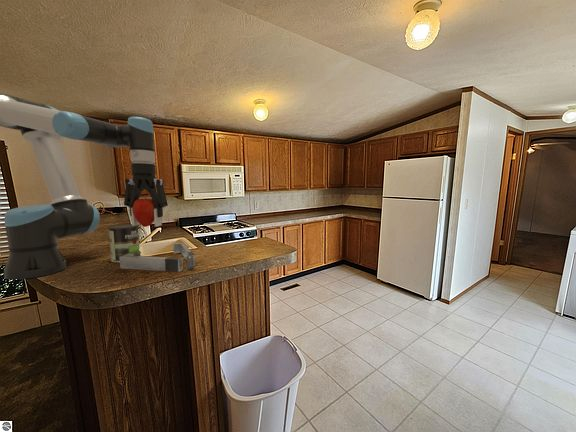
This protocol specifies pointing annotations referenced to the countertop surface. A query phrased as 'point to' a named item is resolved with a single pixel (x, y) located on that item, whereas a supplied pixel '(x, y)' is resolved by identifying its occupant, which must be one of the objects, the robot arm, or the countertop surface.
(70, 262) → the countertop surface
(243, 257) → the countertop surface
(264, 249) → the countertop surface
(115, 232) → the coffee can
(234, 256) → the countertop surface
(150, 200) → the apple
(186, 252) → the jaw
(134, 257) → the long grey bar
